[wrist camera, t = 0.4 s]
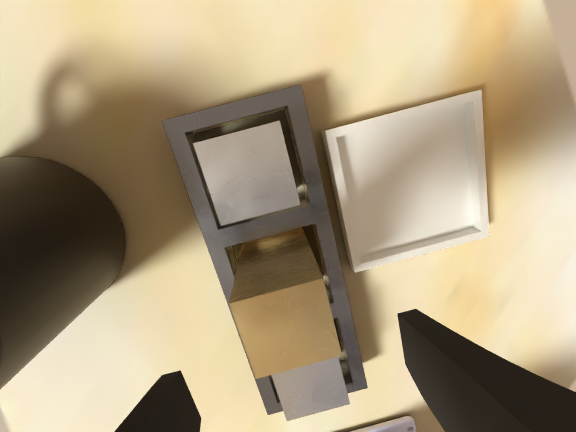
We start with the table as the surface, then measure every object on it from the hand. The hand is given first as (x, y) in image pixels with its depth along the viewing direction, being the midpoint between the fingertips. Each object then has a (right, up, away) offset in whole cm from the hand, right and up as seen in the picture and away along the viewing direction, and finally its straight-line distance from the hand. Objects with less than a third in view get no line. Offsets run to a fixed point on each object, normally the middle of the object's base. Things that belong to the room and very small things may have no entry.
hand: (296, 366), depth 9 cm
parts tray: (+7, +7, +9) cm, 13 cm away
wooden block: (-1, +2, +10) cm, 10 cm away
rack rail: (-1, +2, +10) cm, 10 cm away
